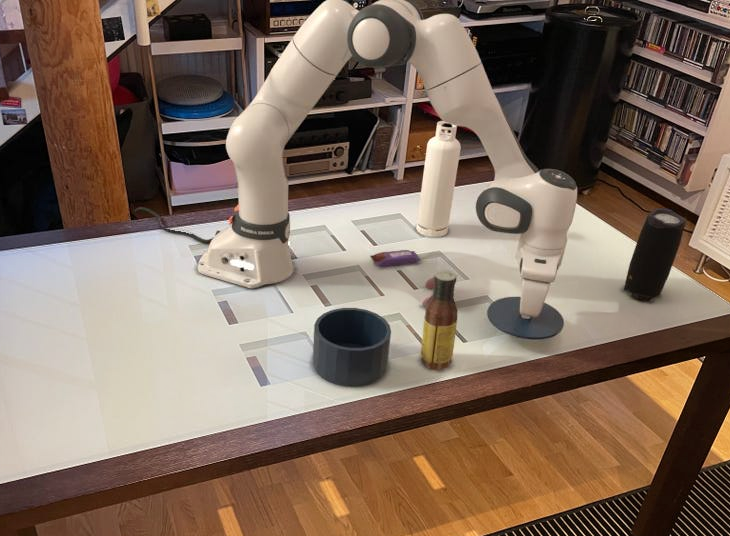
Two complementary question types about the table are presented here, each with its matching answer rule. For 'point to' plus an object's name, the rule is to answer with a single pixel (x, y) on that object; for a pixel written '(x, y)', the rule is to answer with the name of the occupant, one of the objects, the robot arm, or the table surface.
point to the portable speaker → (654, 254)
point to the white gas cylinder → (438, 182)
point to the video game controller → (429, 285)
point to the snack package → (395, 258)
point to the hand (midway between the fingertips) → (526, 311)
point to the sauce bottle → (440, 322)
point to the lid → (524, 320)
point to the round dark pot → (351, 346)
